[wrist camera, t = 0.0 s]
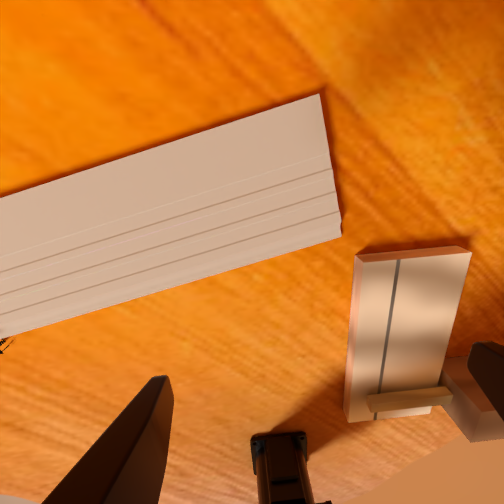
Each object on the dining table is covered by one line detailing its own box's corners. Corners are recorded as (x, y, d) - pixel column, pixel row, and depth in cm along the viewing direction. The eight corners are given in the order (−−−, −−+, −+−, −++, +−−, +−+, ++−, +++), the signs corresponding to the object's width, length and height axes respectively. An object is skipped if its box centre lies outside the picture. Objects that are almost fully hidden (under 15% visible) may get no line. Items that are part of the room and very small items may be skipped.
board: (420, 400, 30) (430, 413, 29) (342, 409, 30) (348, 423, 29) (456, 245, 23) (472, 252, 22) (354, 255, 23) (363, 262, 21)
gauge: (469, 381, 30) (523, 436, 24) (355, 394, 29) (384, 452, 24) (478, 354, 28) (538, 405, 23) (358, 367, 28) (389, 422, 22)
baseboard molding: (340, 248, 23) (312, 97, 19) (354, 261, 21) (325, 88, 16) (15, 345, 25) (-83, 226, 20) (-12, 369, 22) (-131, 239, 18)
